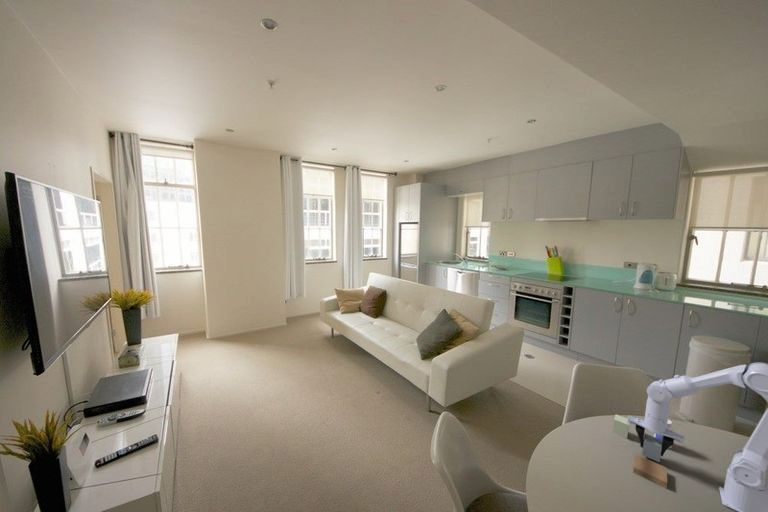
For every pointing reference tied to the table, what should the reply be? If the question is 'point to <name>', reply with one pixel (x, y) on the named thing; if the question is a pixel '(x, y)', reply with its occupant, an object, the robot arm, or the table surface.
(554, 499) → the table surface
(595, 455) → the table surface
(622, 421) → the sage block
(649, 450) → the slate block
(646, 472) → the walnut block
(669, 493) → the table surface
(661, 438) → the pill bottle
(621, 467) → the table surface
